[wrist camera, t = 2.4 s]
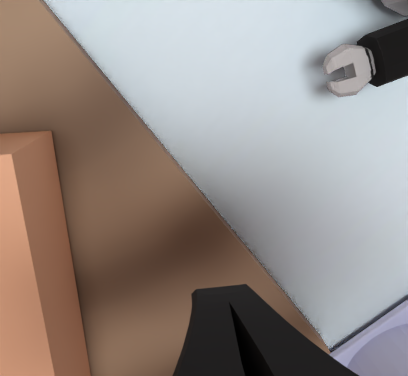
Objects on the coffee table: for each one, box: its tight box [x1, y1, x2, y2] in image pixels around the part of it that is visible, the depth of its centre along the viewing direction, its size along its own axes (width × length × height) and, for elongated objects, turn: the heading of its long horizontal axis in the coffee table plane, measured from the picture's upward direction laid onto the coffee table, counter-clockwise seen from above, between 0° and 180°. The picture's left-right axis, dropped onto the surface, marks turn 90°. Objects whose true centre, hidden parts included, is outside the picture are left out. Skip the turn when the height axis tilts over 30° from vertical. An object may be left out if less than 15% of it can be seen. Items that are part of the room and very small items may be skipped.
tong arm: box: [0, 131, 91, 376], centre depth 14 cm, size 16×3×4 cm, turn 3°
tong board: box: [0, 0, 331, 376], centre depth 15 cm, size 20×18×5 cm
